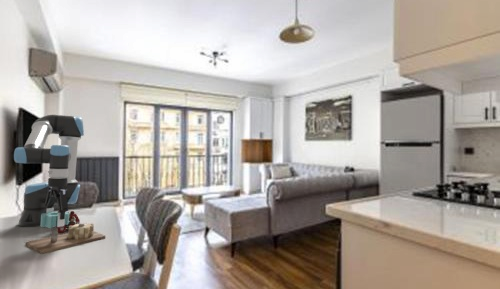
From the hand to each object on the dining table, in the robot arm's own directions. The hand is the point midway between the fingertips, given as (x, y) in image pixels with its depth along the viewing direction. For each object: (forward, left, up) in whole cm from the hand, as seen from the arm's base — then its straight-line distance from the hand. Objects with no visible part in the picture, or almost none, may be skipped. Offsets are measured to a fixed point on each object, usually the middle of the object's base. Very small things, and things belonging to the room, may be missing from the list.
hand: (54, 223), depth 127 cm
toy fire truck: (-18, +13, -10) cm, 25 cm away
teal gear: (0, 0, 0) cm, 0 cm away
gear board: (0, +6, -10) cm, 11 cm away
